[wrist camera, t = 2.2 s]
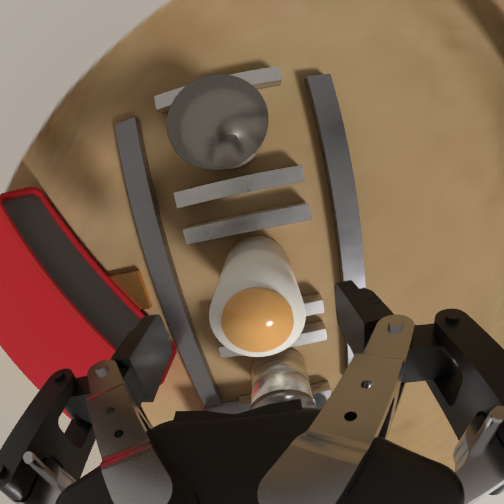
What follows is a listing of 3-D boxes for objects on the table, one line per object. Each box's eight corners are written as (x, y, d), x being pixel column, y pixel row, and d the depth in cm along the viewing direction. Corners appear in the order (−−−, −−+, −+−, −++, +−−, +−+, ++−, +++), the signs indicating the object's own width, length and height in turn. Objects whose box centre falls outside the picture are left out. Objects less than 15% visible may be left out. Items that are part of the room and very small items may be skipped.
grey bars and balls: (324, 67, 15) (348, 32, 10) (362, 379, 22) (381, 422, 17) (74, 137, 16) (25, 132, 11) (168, 406, 23) (154, 449, 18)
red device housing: (-2, 282, 20) (-31, 300, 15) (37, 185, 17) (-5, 195, 12) (102, 399, 24) (84, 430, 19) (179, 346, 20) (160, 389, 16)
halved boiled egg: (283, 230, 18) (299, 267, 11) (293, 290, 19) (312, 352, 12) (218, 243, 19) (195, 287, 11) (233, 301, 20) (222, 367, 13)
